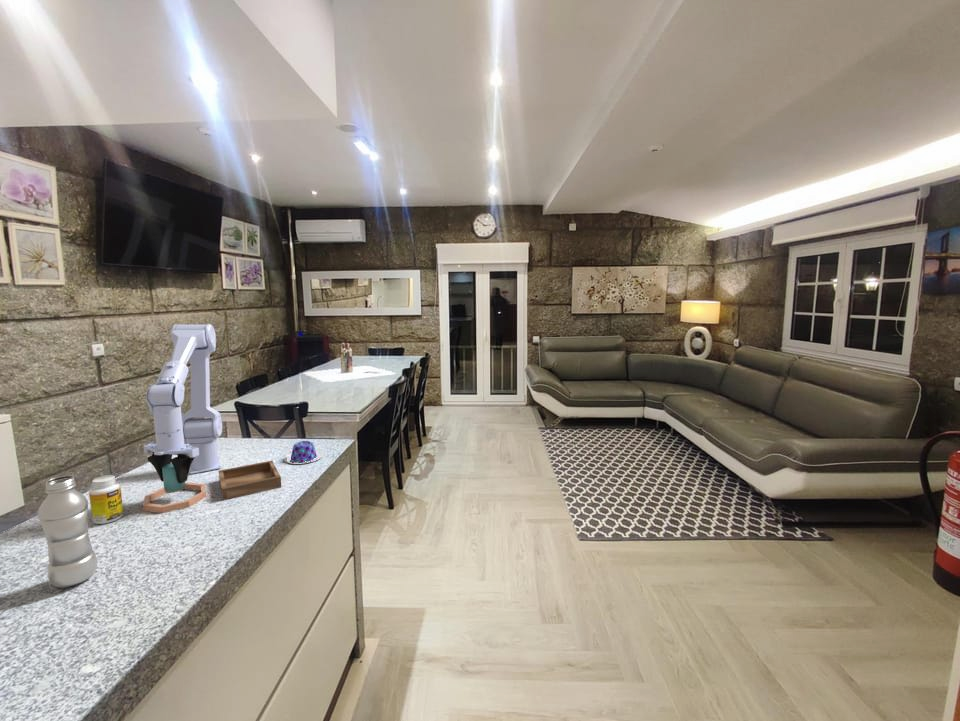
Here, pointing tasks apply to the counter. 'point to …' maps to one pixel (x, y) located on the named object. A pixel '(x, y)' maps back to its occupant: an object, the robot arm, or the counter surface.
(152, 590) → the counter surface
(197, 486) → the collar
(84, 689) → the counter surface
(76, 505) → the plastic bottle
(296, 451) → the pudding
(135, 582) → the counter surface
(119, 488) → the supplement bottle
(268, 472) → the tray
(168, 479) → the teal tapered cylinder
